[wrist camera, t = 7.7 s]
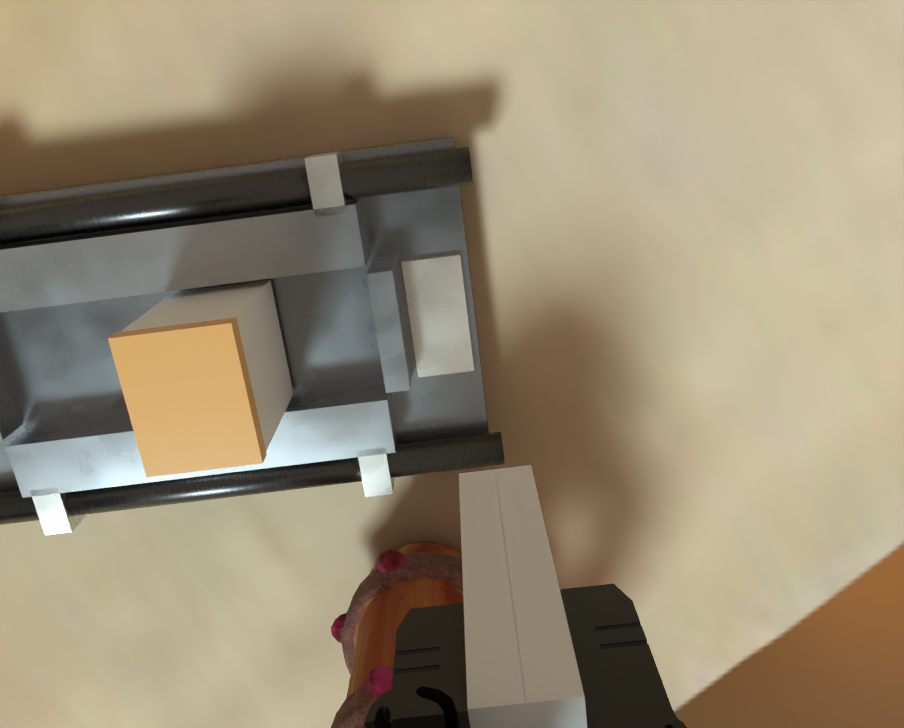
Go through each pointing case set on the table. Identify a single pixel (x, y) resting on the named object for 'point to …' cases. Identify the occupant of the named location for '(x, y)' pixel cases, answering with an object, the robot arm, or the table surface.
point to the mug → (390, 618)
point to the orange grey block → (204, 378)
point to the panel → (299, 313)
